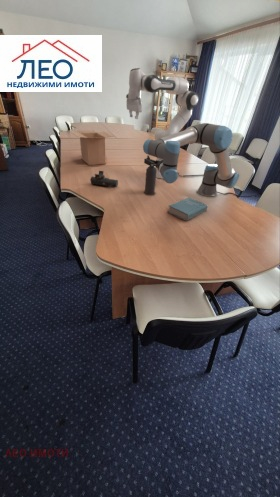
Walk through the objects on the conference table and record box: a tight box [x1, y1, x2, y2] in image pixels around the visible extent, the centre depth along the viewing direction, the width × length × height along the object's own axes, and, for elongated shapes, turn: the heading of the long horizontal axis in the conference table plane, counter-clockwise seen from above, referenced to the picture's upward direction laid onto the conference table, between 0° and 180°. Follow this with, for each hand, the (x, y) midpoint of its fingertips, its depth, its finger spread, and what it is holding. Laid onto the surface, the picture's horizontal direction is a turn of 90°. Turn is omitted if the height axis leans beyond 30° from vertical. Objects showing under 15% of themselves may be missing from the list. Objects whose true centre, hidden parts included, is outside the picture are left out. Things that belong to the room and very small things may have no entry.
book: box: [167, 196, 208, 222], centre depth 151 cm, size 23×16×5 cm
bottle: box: [144, 165, 157, 196], centre depth 169 cm, size 8×8×24 cm
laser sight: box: [89, 170, 119, 188], centre depth 180 cm, size 10×22×10 cm, turn 78°
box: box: [70, 129, 114, 166], centre depth 229 cm, size 44×36×27 cm
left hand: (133, 118), depth 170 cm, fingers open, 8 cm apart
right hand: (158, 158), depth 142 cm, fingers open, 13 cm apart
